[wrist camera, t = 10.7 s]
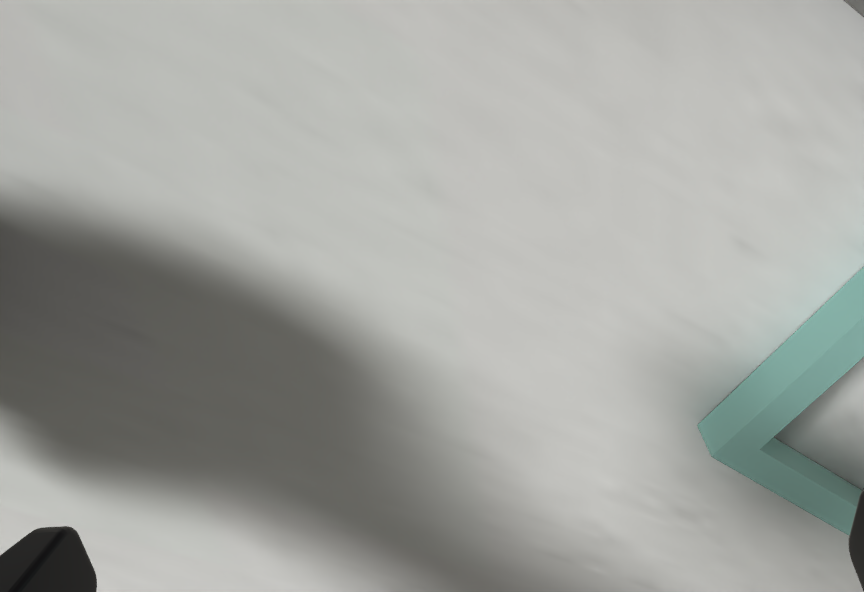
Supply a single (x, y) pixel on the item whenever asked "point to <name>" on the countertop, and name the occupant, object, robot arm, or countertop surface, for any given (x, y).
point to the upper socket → (857, 5)
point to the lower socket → (793, 409)
